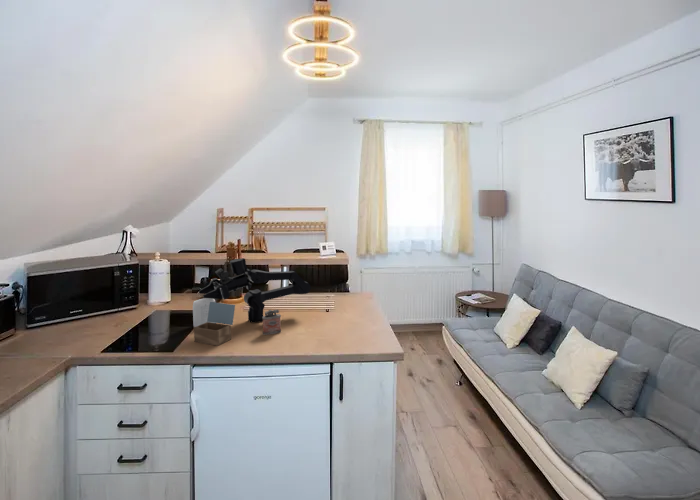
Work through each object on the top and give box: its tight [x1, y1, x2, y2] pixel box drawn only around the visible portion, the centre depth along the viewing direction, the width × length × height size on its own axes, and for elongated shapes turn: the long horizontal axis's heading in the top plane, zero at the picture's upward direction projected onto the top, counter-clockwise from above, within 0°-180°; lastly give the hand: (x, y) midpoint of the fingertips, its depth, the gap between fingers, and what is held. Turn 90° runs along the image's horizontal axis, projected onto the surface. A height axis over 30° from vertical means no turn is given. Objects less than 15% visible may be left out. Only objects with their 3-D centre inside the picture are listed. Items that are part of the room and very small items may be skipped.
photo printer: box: [192, 297, 217, 328], centre depth 193 cm, size 10×4×12 cm, turn 123°
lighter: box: [262, 309, 282, 336], centre depth 182 cm, size 8×3×10 cm, turn 117°
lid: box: [207, 301, 236, 326], centre depth 177 cm, size 8×12×1 cm
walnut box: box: [193, 322, 232, 347], centre depth 173 cm, size 8×12×6 cm, turn 67°
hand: (201, 294), depth 186 cm, fingers open, 9 cm apart
